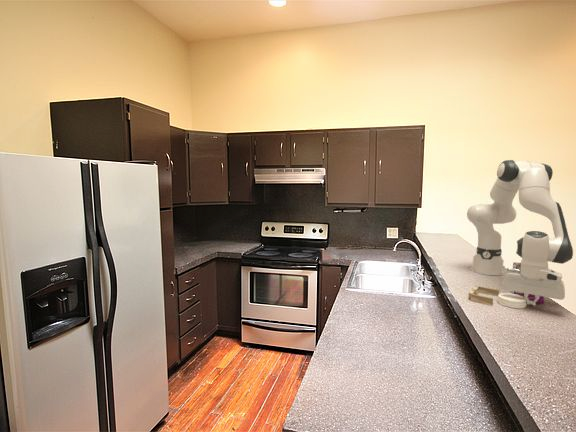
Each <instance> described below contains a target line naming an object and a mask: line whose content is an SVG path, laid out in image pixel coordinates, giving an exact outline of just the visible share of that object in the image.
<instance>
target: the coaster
mask: <svg viewBox="0 0 576 432" xmlns="http://www.w3.org/2000/svg"><path fill="white" fill-rule="evenodd" d="M497 303H498V304H500V305H501V306H504V307H506V308H512V309H516V310H517V309H521V310H522V309H525V308H527V305H528V304H527V300H526V298H525V297H523V296H520V295H517V294H511V292H499V295H498V296H497Z"/></svg>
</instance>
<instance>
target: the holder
mask: <svg viewBox="0 0 576 432" xmlns="http://www.w3.org/2000/svg"><path fill="white" fill-rule="evenodd" d="M479 293H480V294H485V295H490V296H492V297H489V296H483V295H479ZM499 294H500V289H496V288H491V287H485V286H481V285H479V286H477V285H476V286H474V288H472V289H471V290H470V291H469V292H468V297H467V299H468V300H470V302H473V303H478V304H482V305H483V304H484V305H487V306H494V297H498V295H499Z"/></svg>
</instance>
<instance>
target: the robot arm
mask: <svg viewBox="0 0 576 432" xmlns="http://www.w3.org/2000/svg"><path fill="white" fill-rule="evenodd" d="M553 174H554V173H553V168H552V166H551V165H549V164H545V163H538V162H534V161H528V160H527V161H524V160H514V159H509V160H508V159H507V160H504V161H502V162H501V163H500V164H499V165H498V167H497V170H496V176H497V178H496V180H495V182H494V184H493V185H492V187H491V189H490V191H489V197H490V198H491V200H492V201H493V203H492V204H491V203H489V204H488V203H487V204H485V203H484V204H476V205H475V204H474V205H471V206H470V207H469V208H468V210H467V212H466V217H467V219H468V221H469V222H470V223H471V224H473V226H474V227H475V228H476V231H477V247H476V254H475V255H473V256H472V257H473V259H472V266H471V267H470V266H469V268H468V270H470V271H473V272H474V273H477V274H480V275H485V276H486V275H487V276H502V277H503V281H502V289H503V290H506V291H510V292H511V291H516V292H521V293H524V296H525V298H526V300H527V304H526V305H530V306H534V307H535V306H536V304H537V303H536V301H537V300H538V299H539V298H540V296H543V297H544V298H549V299H555V300H559V301H561V300H564V299H565V297H566V289H565V283H564V281H563V274H562V273H560V272H558V271H556V270H553V269H551V268H549V262H551V263H557V264H561V265H562V264H566V263H567V262H569V261H570V260H572V259H573V256H574V248H573V246H572V243H571V239H570V235H569V232H568V228H567V224H566V219H565V217H564V213H563V210H562V206H561V205H560V202H557V201H555V200H554V199H553V198H552V195H551V183H550V181H551V179H552V177H553ZM517 193H518V201H519V204H520V205H521V207H523V208H524V209H525V210H528V211H529V212H532V213H535V214H538V215H541V216H544V218H545V217H546V218H547V219H548V220H549V221H550V222H551V225H552V230H553V235H554V238H550V237H549V234H548V233H546V232H543V231H539V230H531V231H529V230H528V231H526V232H525V233H524V235H523V236H522V237H521V238H519V239H517V240H516V244H517V245H516V246H517V247H516V251H515V253H516V255H517V256H519V257H520V258H522V259H521V261H520V263H521V267H520V270H519V269H513V268H511V267H507V268H506V266H505V265H504V261H505V260H504V259H503V257H502V253H503V251H502V234H501V233H500V232H499V231H496V229H494V225H496V224H497V225H498V224H499V225H502V224H507V223H513V222H514V221H515V220H516V217H517V210H516V208H515V207H514V206H513V201H514V199H515V197H516V195H517ZM529 294H532V295H535V300H530V299H529V298H528V295H529Z"/></svg>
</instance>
